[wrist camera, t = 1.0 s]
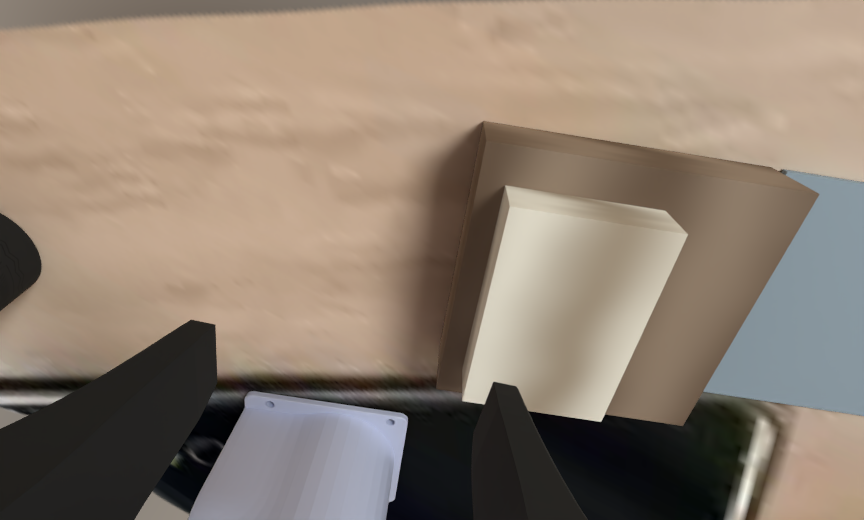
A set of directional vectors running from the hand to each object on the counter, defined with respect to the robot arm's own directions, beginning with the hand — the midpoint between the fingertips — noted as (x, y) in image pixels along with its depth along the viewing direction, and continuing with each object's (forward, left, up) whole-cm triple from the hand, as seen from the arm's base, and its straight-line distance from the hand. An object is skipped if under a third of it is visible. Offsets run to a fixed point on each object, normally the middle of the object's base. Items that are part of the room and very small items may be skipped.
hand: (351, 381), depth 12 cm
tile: (+7, -1, -8) cm, 10 cm away
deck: (+9, -1, -11) cm, 14 cm away
